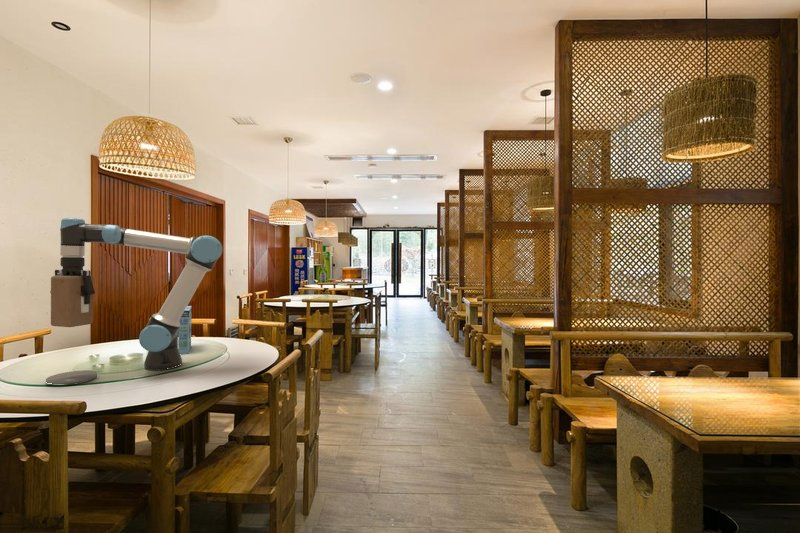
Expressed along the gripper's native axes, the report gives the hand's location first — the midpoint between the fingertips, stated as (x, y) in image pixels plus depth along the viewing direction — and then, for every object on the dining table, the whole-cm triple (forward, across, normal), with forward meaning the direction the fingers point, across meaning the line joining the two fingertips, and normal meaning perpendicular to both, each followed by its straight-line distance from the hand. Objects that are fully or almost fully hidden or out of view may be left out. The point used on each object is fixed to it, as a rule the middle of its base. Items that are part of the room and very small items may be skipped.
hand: (72, 311), depth 160 cm
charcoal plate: (+28, 0, 0) cm, 28 cm away
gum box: (+28, -9, -56) cm, 63 cm away
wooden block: (+6, 0, 0) cm, 6 cm away
